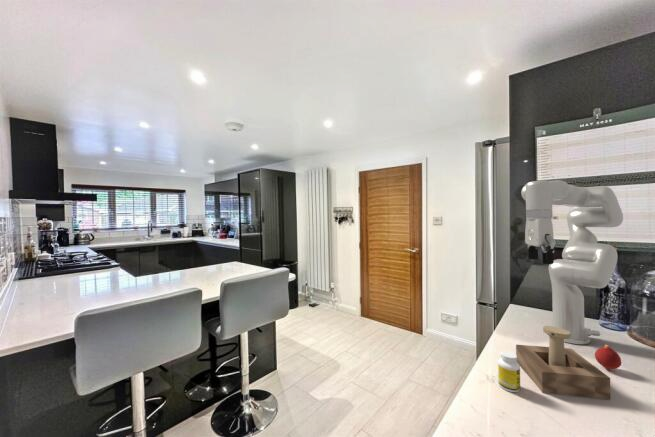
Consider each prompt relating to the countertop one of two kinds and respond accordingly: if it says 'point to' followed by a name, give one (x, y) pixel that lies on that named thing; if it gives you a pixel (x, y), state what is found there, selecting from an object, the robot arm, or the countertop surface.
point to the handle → (556, 345)
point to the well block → (563, 373)
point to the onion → (608, 358)
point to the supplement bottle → (509, 372)
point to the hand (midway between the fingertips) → (540, 261)
